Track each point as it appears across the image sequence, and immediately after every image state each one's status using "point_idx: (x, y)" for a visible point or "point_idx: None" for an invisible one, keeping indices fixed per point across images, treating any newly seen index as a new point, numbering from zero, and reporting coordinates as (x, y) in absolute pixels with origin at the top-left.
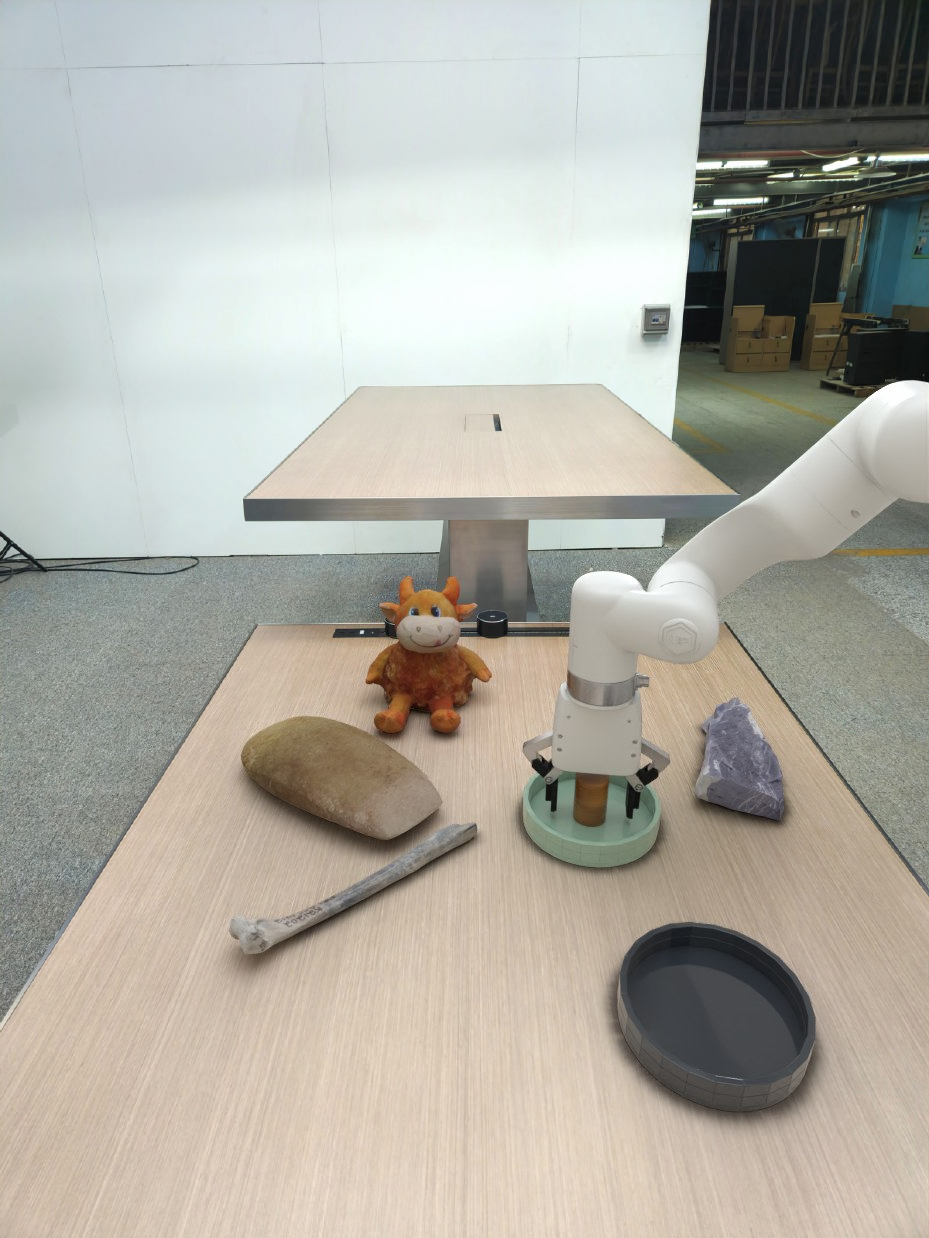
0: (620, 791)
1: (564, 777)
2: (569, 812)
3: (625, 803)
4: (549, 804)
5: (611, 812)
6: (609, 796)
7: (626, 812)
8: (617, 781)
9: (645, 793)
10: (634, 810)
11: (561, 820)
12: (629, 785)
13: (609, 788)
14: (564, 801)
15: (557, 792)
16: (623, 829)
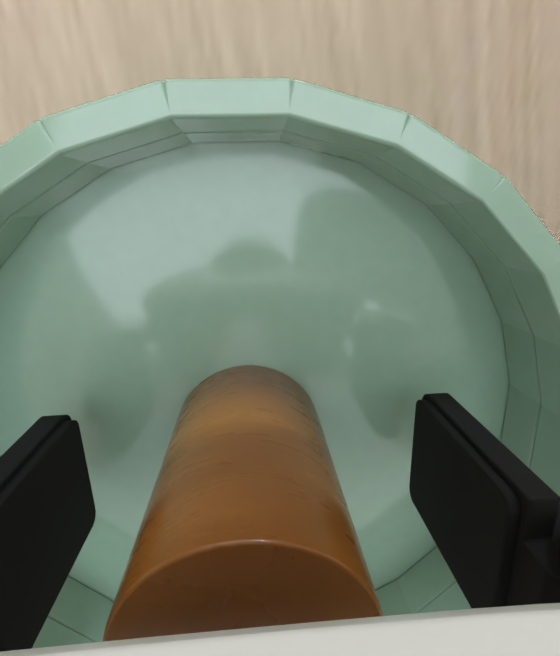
0: (393, 231)
1: (87, 176)
2: (162, 421)
3: (418, 415)
4: (62, 388)
5: (342, 389)
6: (338, 281)
7: (417, 494)
8: (389, 177)
9: (530, 317)
10: (441, 359)
11: (136, 475)
12: (504, 577)
13: (340, 214)
14: (128, 355)
15: (46, 584)
16: (383, 473)
